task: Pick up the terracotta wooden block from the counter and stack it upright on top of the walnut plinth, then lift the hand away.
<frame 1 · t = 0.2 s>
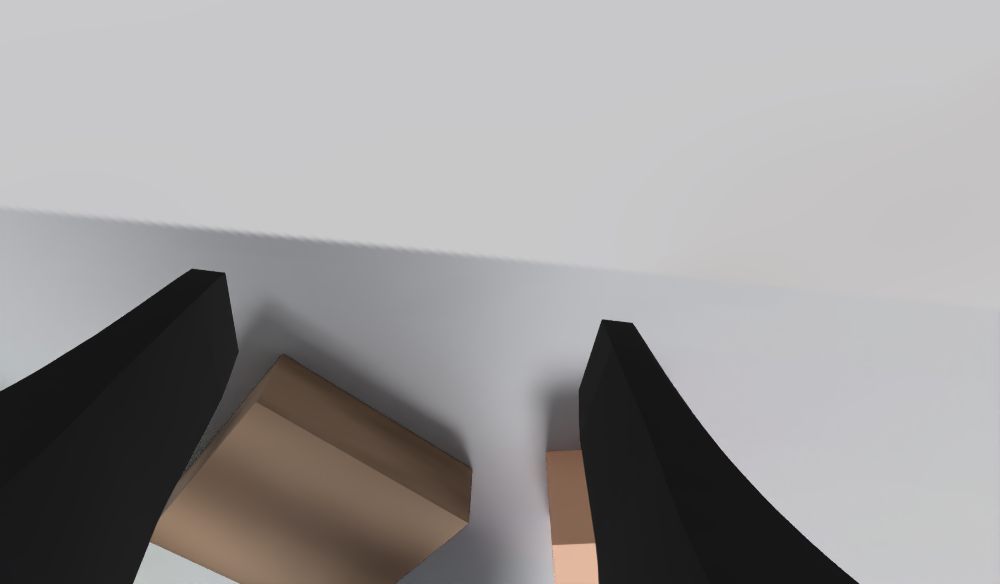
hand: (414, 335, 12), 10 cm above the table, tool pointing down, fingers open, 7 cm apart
walnut plinth: (322, 477, 29), on the table
terracotta block: (596, 483, 29), on the table
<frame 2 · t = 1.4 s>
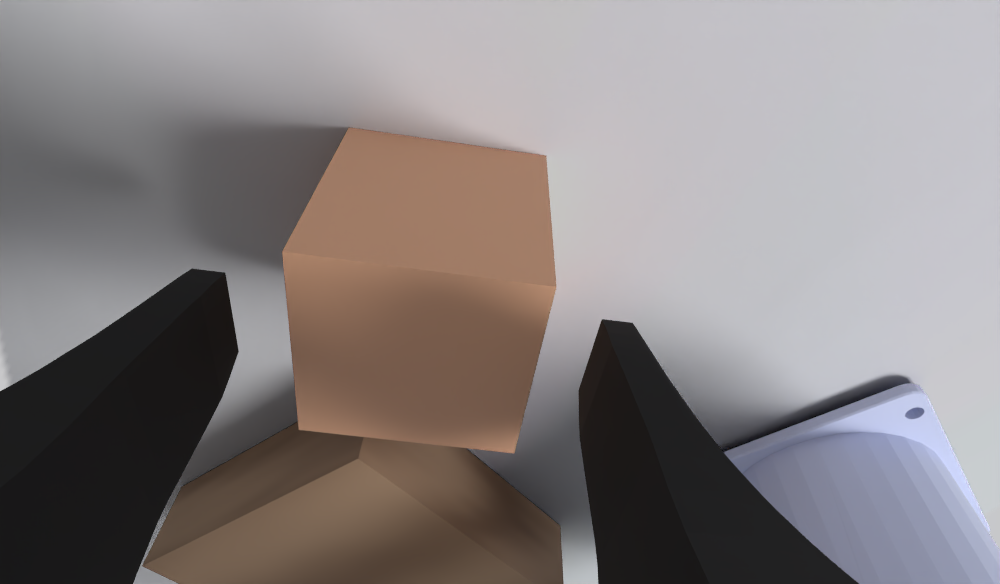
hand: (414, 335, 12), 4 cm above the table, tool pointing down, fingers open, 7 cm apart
walnut plinth: (374, 506, 23), on the table
terracotta block: (440, 223, 15), on the table
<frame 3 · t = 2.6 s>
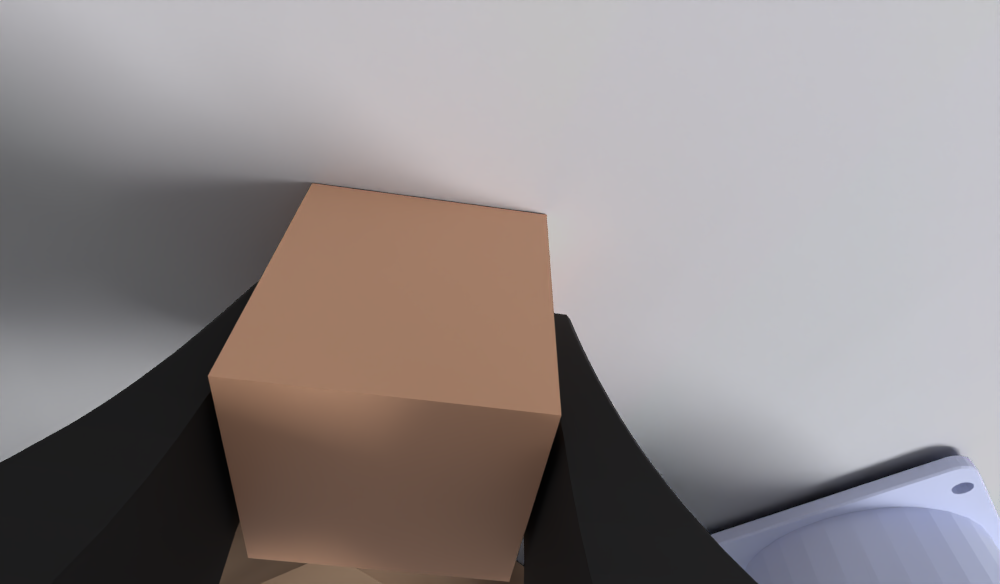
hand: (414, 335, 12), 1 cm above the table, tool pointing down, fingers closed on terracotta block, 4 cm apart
walnut plinth: (357, 575, 21), on the table
terracotta block: (423, 290, 13), on the table, touching gripper
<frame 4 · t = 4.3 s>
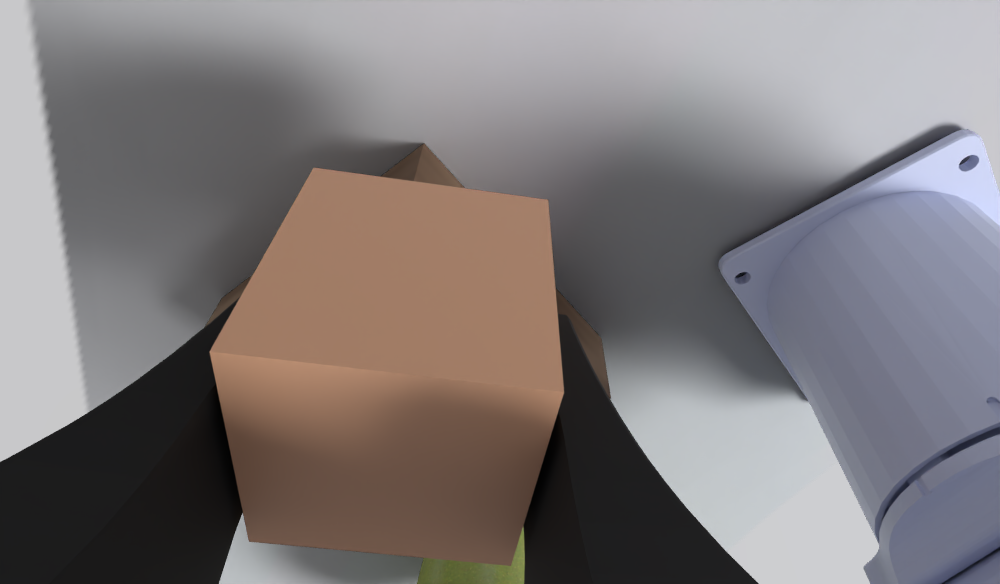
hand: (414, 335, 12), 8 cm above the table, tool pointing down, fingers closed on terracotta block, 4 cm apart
walnut plinth: (415, 318, 23), on the table
terracotta block: (424, 276, 13), point 7 cm above the table, touching gripper
plant pot: (483, 540, 33), on the table
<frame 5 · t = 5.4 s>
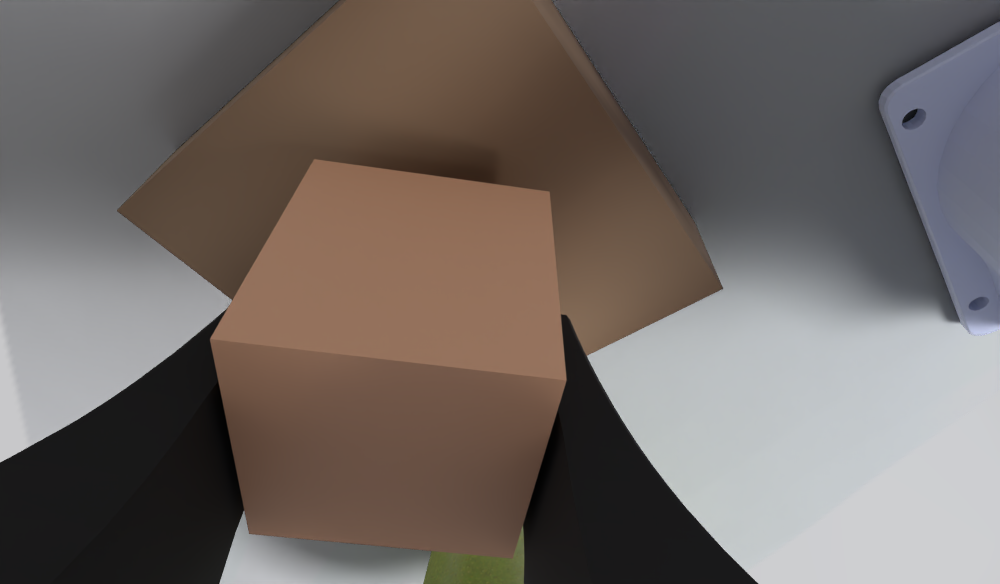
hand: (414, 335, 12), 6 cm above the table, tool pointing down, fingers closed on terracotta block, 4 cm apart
walnut plinth: (442, 188, 17), on the table
terracotta block: (425, 269, 13), point 4 cm above the table, touching gripper
plant pot: (510, 512, 27), on the table
when the fingers open (6 cm above the table, at t = 6.0 s): terracotta block drops 1 cm, resting on walnut plinth.
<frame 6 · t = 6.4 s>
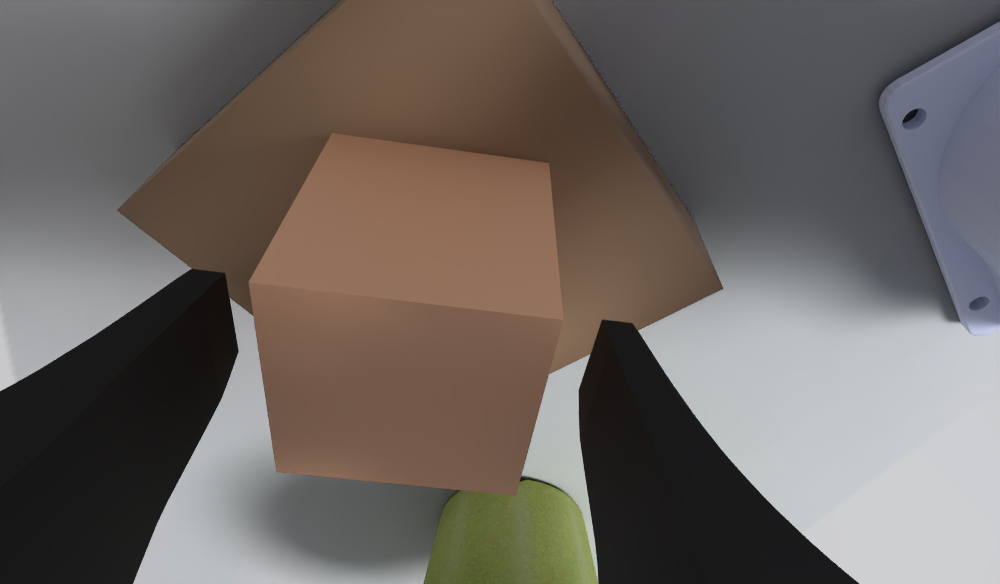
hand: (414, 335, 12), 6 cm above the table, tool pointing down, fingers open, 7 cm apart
walnut plinth: (443, 188, 17), on the table
terracotta block: (434, 238, 14), point 3 cm above the table, touching walnut plinth
plant pot: (510, 511, 27), on the table
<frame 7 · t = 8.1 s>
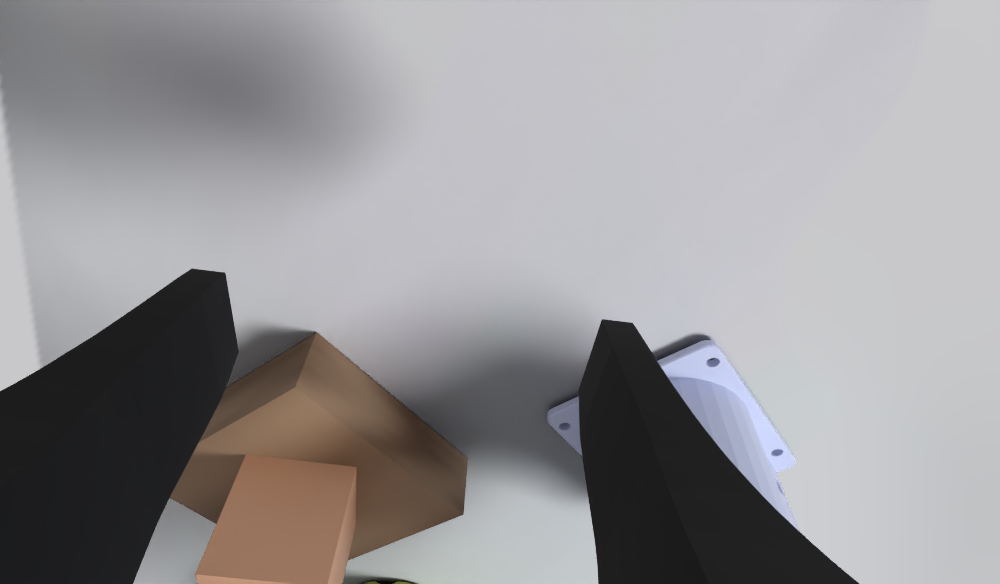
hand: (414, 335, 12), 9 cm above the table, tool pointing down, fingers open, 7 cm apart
walnut plinth: (320, 441, 29), on the table
terracotta block: (303, 492, 27), point 3 cm above the table, touching walnut plinth
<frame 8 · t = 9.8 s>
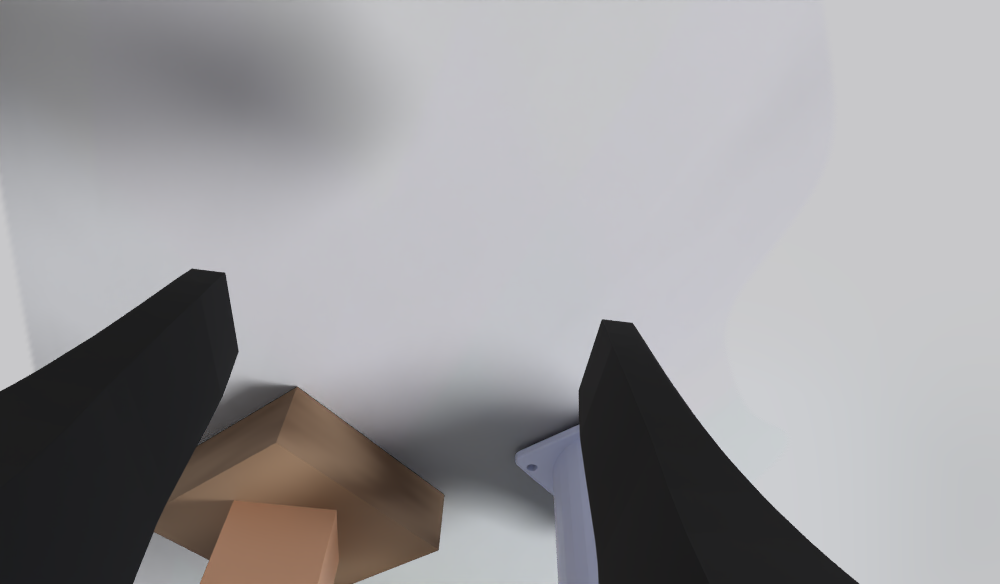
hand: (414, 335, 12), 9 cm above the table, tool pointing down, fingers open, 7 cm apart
walnut plinth: (305, 481, 31), on the table
terracotta block: (289, 532, 29), point 3 cm above the table, touching walnut plinth
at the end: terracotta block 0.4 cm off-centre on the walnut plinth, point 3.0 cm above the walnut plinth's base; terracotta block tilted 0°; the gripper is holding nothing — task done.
